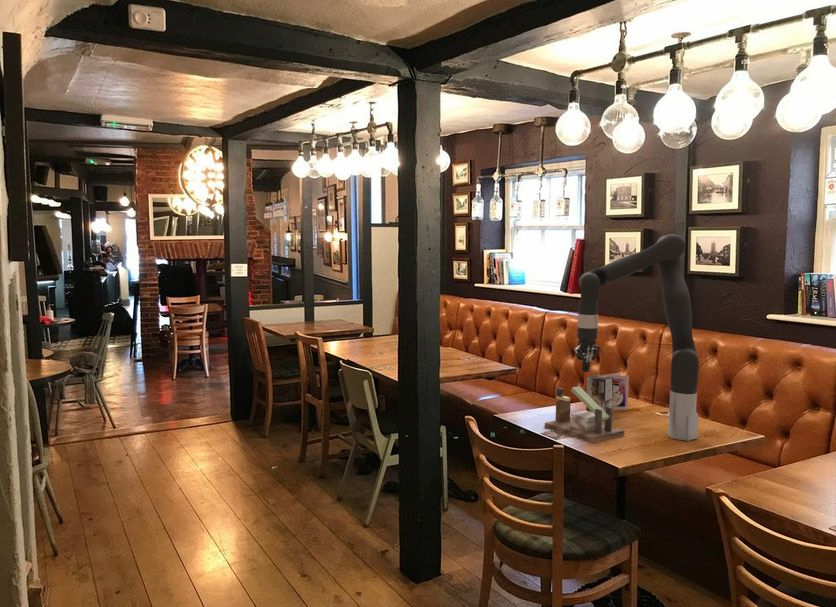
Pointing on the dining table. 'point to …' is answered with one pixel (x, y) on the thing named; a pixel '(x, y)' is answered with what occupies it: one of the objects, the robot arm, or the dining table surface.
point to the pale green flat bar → (588, 401)
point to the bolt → (561, 395)
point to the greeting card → (620, 391)
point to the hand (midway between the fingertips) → (585, 371)
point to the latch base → (576, 432)
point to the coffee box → (600, 390)
